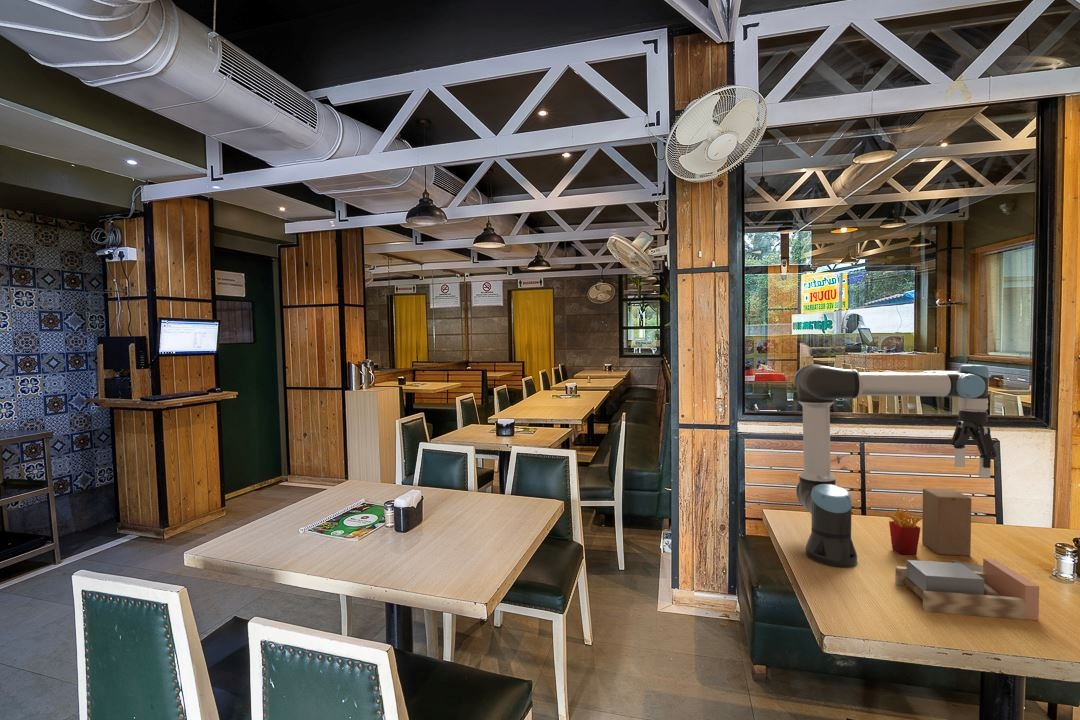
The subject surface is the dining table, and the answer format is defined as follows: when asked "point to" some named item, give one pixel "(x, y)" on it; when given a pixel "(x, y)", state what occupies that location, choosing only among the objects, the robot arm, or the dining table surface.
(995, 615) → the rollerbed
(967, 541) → the wooden block
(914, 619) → the dining table surface
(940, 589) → the slab
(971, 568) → the stone
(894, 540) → the french fries
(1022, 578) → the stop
